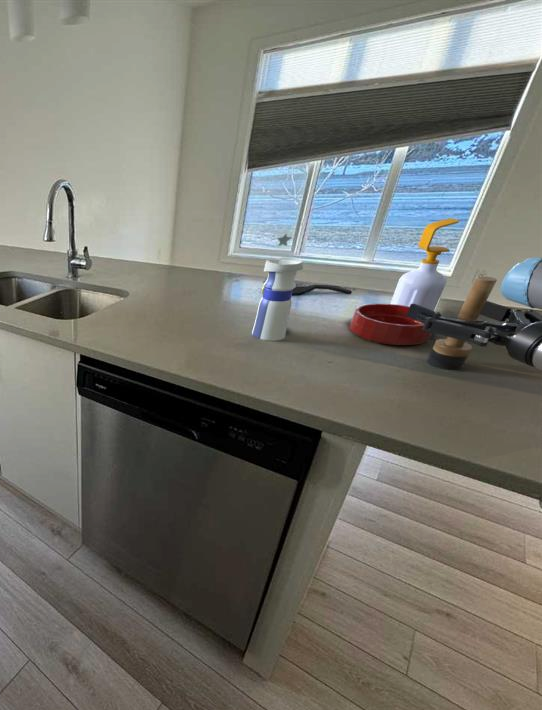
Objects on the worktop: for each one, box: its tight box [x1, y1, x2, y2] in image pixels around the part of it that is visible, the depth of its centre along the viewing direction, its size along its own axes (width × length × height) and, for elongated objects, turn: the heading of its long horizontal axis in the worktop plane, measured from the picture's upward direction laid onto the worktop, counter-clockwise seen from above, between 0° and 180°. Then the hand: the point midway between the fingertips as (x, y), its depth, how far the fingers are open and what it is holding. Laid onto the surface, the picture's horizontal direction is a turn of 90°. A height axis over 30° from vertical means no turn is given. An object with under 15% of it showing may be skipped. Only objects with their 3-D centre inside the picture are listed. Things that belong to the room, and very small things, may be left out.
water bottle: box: [251, 232, 304, 342], centre depth 100 cm, size 8×8×25 cm
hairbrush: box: [262, 277, 353, 297], centre depth 130 cm, size 8×4×25 cm
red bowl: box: [349, 302, 433, 346], centre depth 99 cm, size 15×15×6 cm
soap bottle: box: [389, 217, 460, 311], centre depth 103 cm, size 9×9×25 cm
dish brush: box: [426, 276, 498, 371], centre depth 82 cm, size 6×6×19 cm
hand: (442, 307), depth 86 cm, fingers open, 13 cm apart
